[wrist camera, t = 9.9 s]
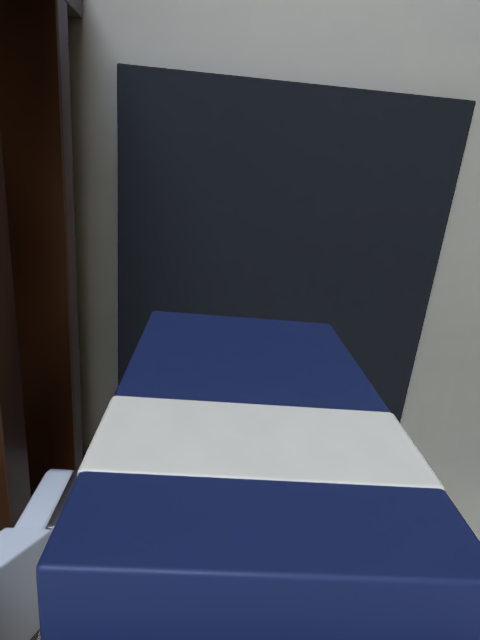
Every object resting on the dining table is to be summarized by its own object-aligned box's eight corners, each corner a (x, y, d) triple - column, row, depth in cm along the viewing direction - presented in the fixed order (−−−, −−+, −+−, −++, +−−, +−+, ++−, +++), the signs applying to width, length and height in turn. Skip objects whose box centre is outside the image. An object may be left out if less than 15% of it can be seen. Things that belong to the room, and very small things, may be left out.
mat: (120, 451, 26) (118, 455, 26) (119, 65, 20) (117, 63, 19) (386, 464, 27) (389, 468, 27) (471, 102, 21) (476, 100, 20)
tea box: (146, 495, 14) (56, 898, 6) (151, 309, 12) (29, 566, 4) (300, 502, 14) (394, 893, 7) (331, 322, 12) (514, 583, 5)
